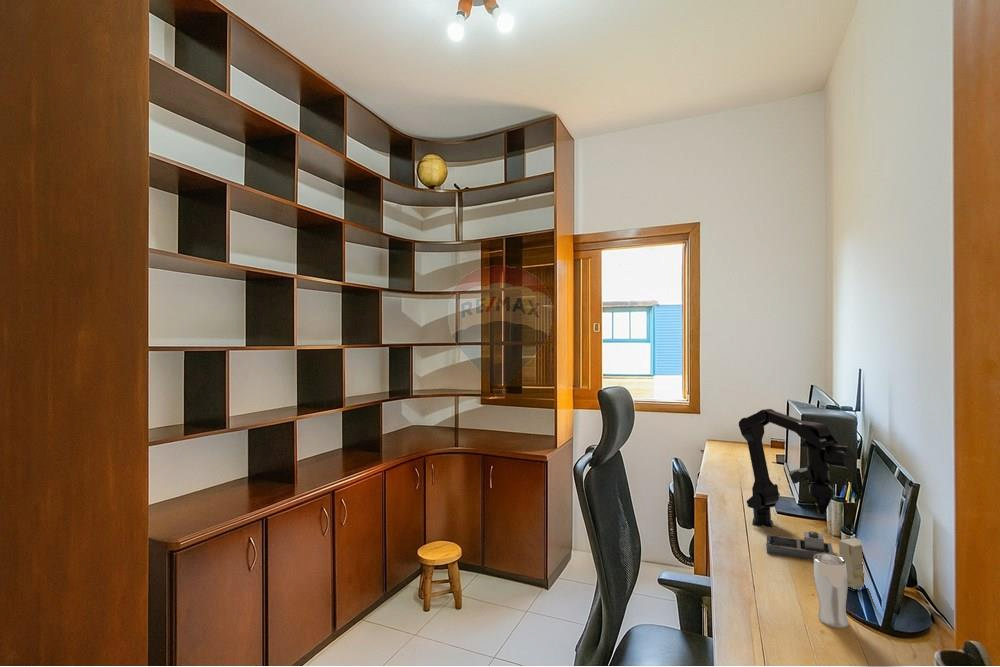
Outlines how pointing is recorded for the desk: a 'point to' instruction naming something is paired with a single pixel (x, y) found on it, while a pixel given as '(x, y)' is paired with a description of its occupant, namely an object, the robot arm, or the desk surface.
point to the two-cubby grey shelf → (793, 551)
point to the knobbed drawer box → (814, 541)
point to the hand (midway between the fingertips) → (821, 509)
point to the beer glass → (831, 589)
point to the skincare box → (853, 561)
